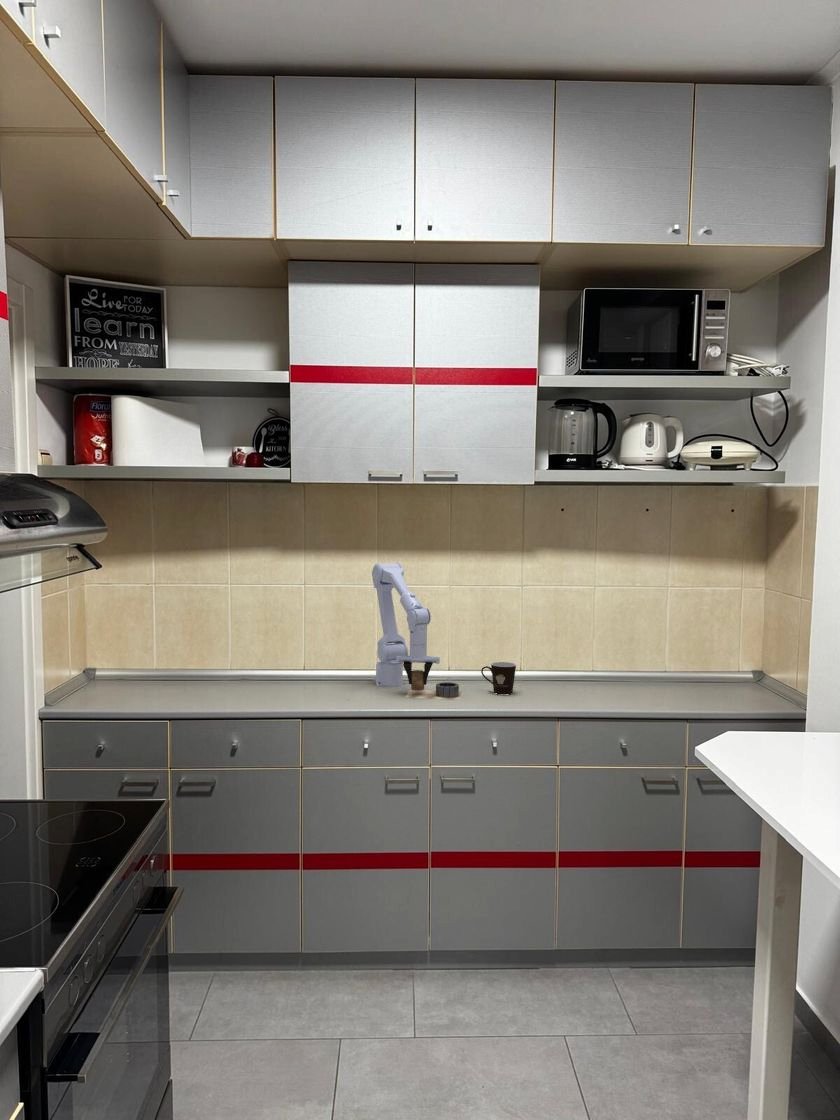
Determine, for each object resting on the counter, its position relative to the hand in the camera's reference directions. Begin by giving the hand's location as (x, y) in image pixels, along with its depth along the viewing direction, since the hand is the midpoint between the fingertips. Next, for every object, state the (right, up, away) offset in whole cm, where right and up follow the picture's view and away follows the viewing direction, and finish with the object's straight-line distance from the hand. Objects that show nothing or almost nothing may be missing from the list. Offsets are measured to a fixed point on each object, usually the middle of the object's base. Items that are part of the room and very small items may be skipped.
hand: (417, 683), depth 273 cm
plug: (0, -2, 0) cm, 2 cm away
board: (+5, -5, 0) cm, 7 cm away
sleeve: (+10, -5, -1) cm, 11 cm away
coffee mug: (+29, -4, +9) cm, 30 cm away
